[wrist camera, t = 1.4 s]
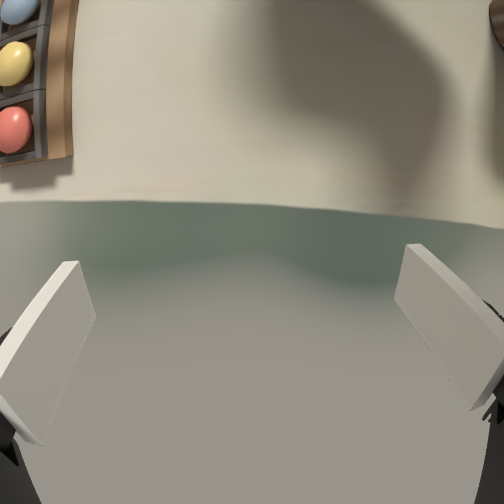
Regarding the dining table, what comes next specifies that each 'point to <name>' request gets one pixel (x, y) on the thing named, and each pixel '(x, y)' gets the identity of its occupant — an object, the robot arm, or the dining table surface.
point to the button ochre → (15, 63)
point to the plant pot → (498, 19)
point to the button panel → (44, 81)
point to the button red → (14, 129)
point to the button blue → (18, 11)
